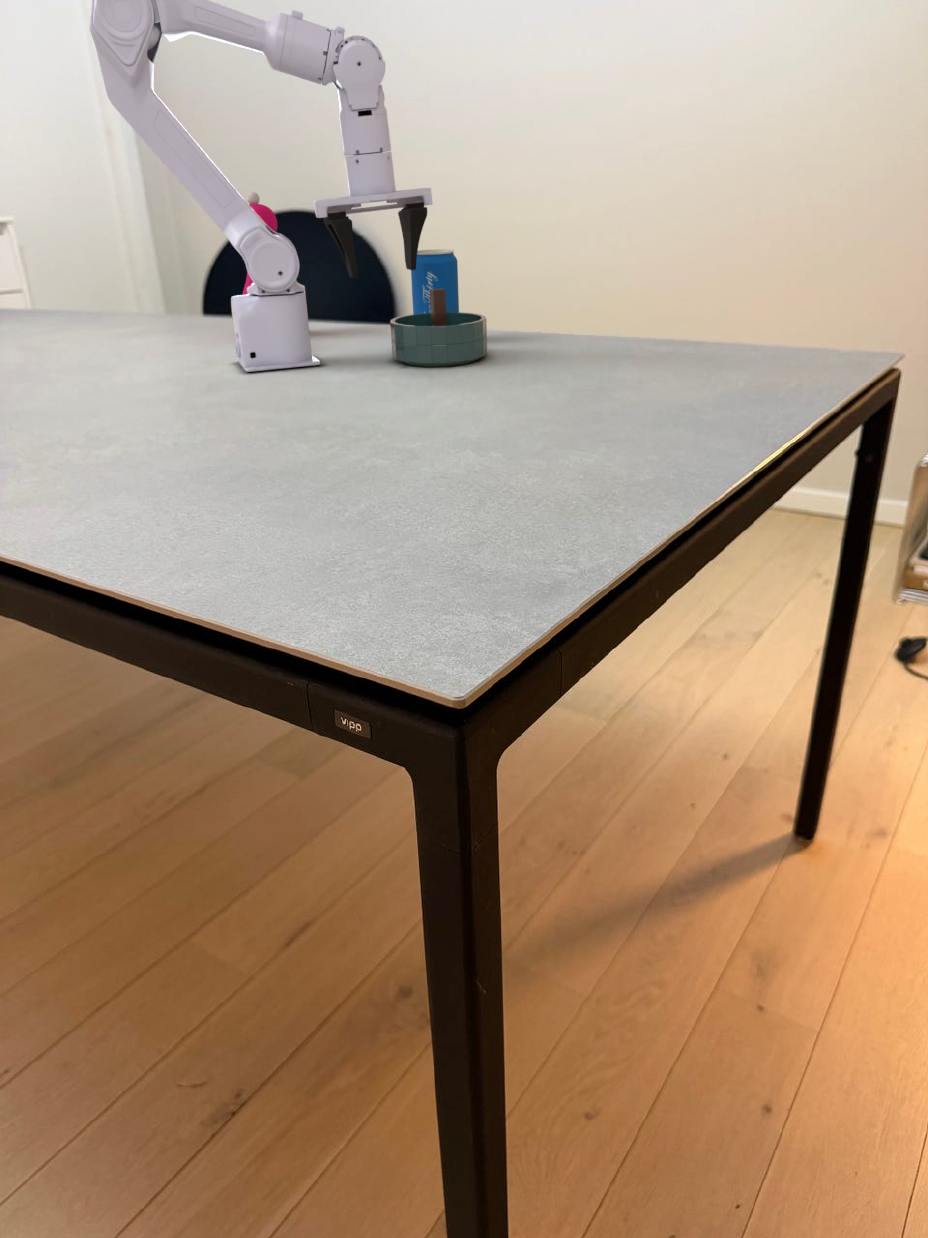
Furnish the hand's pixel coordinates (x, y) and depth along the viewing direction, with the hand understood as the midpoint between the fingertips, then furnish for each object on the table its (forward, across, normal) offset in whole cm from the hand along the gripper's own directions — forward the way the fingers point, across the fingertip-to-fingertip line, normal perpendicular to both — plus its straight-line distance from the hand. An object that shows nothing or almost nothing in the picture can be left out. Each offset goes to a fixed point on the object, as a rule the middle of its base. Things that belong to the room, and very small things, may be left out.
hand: (382, 273), depth 117 cm
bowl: (+11, +5, -5) cm, 13 cm away
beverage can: (+11, +9, +8) cm, 17 cm away
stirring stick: (+10, +5, -5) cm, 12 cm away
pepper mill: (+10, -12, +26) cm, 30 cm away
